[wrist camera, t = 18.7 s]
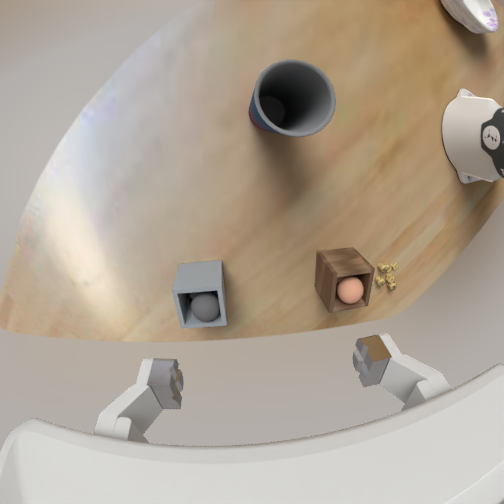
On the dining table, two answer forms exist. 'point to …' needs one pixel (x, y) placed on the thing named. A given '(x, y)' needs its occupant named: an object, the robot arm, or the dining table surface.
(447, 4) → the white purple floral bowl
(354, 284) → the terracotta ball
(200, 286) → the grey square open box
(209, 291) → the charcoal ball
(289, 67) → the cup
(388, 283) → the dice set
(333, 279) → the walnut tube
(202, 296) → the charcoal ball
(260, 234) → the dining table surface
